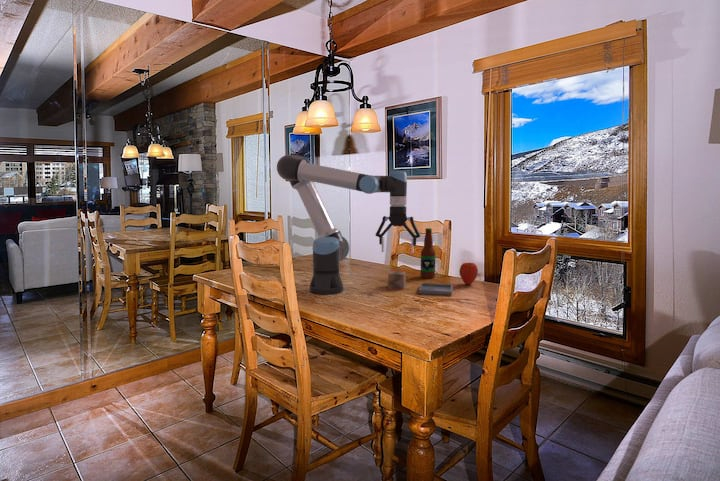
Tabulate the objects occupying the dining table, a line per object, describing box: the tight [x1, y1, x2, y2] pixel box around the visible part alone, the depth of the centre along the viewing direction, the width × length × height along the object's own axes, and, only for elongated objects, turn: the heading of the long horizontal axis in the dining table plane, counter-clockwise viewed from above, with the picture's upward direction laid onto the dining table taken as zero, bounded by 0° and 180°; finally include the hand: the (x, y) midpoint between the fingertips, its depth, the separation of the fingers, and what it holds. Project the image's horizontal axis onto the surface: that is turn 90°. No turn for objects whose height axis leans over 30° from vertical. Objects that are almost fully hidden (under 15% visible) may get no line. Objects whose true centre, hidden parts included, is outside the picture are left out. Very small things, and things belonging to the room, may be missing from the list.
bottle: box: [420, 227, 436, 280], centre depth 233 cm, size 7×7×25 cm
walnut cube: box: [387, 270, 407, 290], centre depth 213 cm, size 7×7×7 cm
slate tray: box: [418, 282, 453, 297], centre depth 206 cm, size 14×14×2 cm
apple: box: [459, 262, 479, 285], centre depth 218 cm, size 9×8×11 cm
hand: (397, 252), depth 211 cm, fingers open, 13 cm apart
